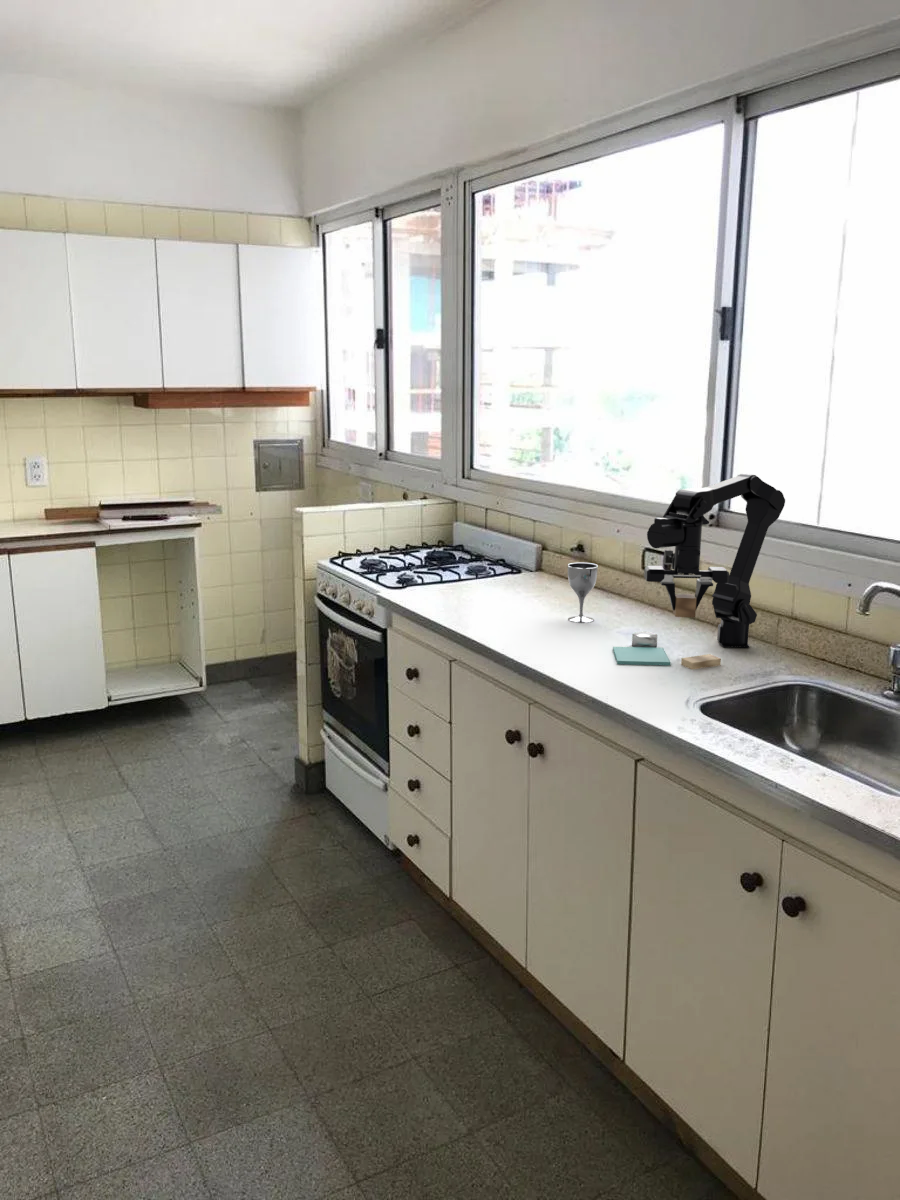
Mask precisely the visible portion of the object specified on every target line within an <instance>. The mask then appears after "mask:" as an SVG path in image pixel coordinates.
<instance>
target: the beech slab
mask: <svg viewBox="0 0 900 1200" xmlns="http://www.w3.org/2000/svg"><path fill="white" fill-rule="evenodd" d="M680 662H681V663H680V664H681V666H682V667H684V668H688V669H689V670H693V671H694V670H698V669H706V668H712V667H718V666H719V667H720V666H721V664H722V658H721V657H719V656H718V657H717V656H715V655H713V654H711V653H709V654H702V655H701V654H700V655H695V656H694V655H693V656H687V657H682V658H681V661H680Z"/></svg>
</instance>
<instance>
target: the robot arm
mask: <svg viewBox="0 0 900 1200" xmlns="http://www.w3.org/2000/svg"><path fill="white" fill-rule="evenodd" d="M737 497H741V498H742V499H743V500H744V501H745V502H746V504H745V514H746V520H747V522H746V526H745V529H744V532H743V534H742V537H741V541H740V542H739V546H738V549H737V552H736V555H735V558H734V560H733V563H732V567H731V569H730V572H729V571H728V570H727V569H726V568H725V567H724V566H708V568H707V570H705V569H704V570H701V569H700V566H701V565H700V564H701V562H700V561H701V549H702V548H701V547H702V546H701V545H702V531H703V530H702V529H703V526H704V525H709V524H710V521H709V520H708V519H707V518H706V516H705V515H706V514H707V513H709V512H711V511H712V510H713V508H714V506H716V505H717V504H721V503H723V502H725V501H728V500H731V499H734V498H737ZM785 505H786V498H785V496H784V494H783V492H782V491H781V490H780V489H779V490H778V489H776V488H775V487H774V486H772V485H770V484H769V483H766V482H765V481H763V480H762V479H761V478H760V477H758V476H757V475H756V474H750V473H749V474H748V473H740V474H737V475H736V476H734V477H731V478H729V479H726V480H722V481H720V482H717V483H714V484H711V485H709V486H705V487H691V488H690V487H689V488H680V489H679V490H677V491H676V492H675V496H674V497H673V499H672V501H671V502H670V504H669V506H668V507H667V509H666V511H665V512H664V514H663V516H662V517H655V518H654V520H653V521H654V522H653V523H652V524H651V525H650V526H649V528H648V529H647V533H646V538H647V542H648V544H649V546H651V547H652V548H653V549H662V548H663V549H664V548H671V547H674V548H675V549H674V550H671V549H670V550H668V549H667V550H664V551H663V554H664V555H663V564H664V565H671V569H665V568H664V567H663V566H662V565H646V566H645V568H644V570H643V571H644V573H643V578H644V579H645V581H646V582H651V583H652V582H655V583H660V584H661V586H664V587H665V588H666V591H667V594H668V597H669V601H670V605H671V609H672V611H673V610H675V594H676V584H675V582H674V581H673V580H674V579H696V580H695V581H696V584H695V585H696V587H695V593H694V596H695V597H696V610H697V609H698V608H699V605H700V603H701V601H702V599H703V597H704V596H705V594H706V592H707V591H708V589H709V588H710V587H714V583H716V585H715V589H714V591H713V594H712V595H711V598H712V601H711V605H712V607H713V610H714V615H715V618H716V619H720V624H717V625H718V626H717V642H718V643H719V645H720V646H721V647H723V648H740V649H741V648H742V649H743V648H746V649H748V648H750V644H749V632H750V625H752V624H753V623H754V624H755V622H756V620H757V616H758V614H757V612H756V611H755V609H754V608H753V607H752V606H751V604H750V602H751V600H752V592H751V587H750V582H751V578H752V575H753V574H754V573H753V572H754V570H755V567H756V564H757V561H758V558H759V555H760V553H761V549H762V547H763V543H764V540H765V538H766V536H767V532H768V529H769V527H771V526H772V524H774V522H776V521H777V520H778V519H779V518H780V516H781V513H782V511H783V509H784V507H785ZM713 582H714V583H713Z"/></svg>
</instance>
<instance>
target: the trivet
mask: <svg viewBox="0 0 900 1200" xmlns="http://www.w3.org/2000/svg"><path fill="white" fill-rule="evenodd" d="M612 652H613V655H614V657H615V661H616V663H617V665H632V666H634V665H639V666H640V665H641V666H671V665H672V662H671V660H670V657H669V656H668V654H667V652H666V650H665V648H664V647H657V648H655V647H632V646H612Z"/></svg>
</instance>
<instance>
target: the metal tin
mask: <svg viewBox="0 0 900 1200" xmlns="http://www.w3.org/2000/svg"><path fill="white" fill-rule="evenodd" d="M631 637H632V638H631V647H655V648H658V634H656V633H655V632H651V631H636V632H635V631H634V632H633V633H632V636H631Z"/></svg>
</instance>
